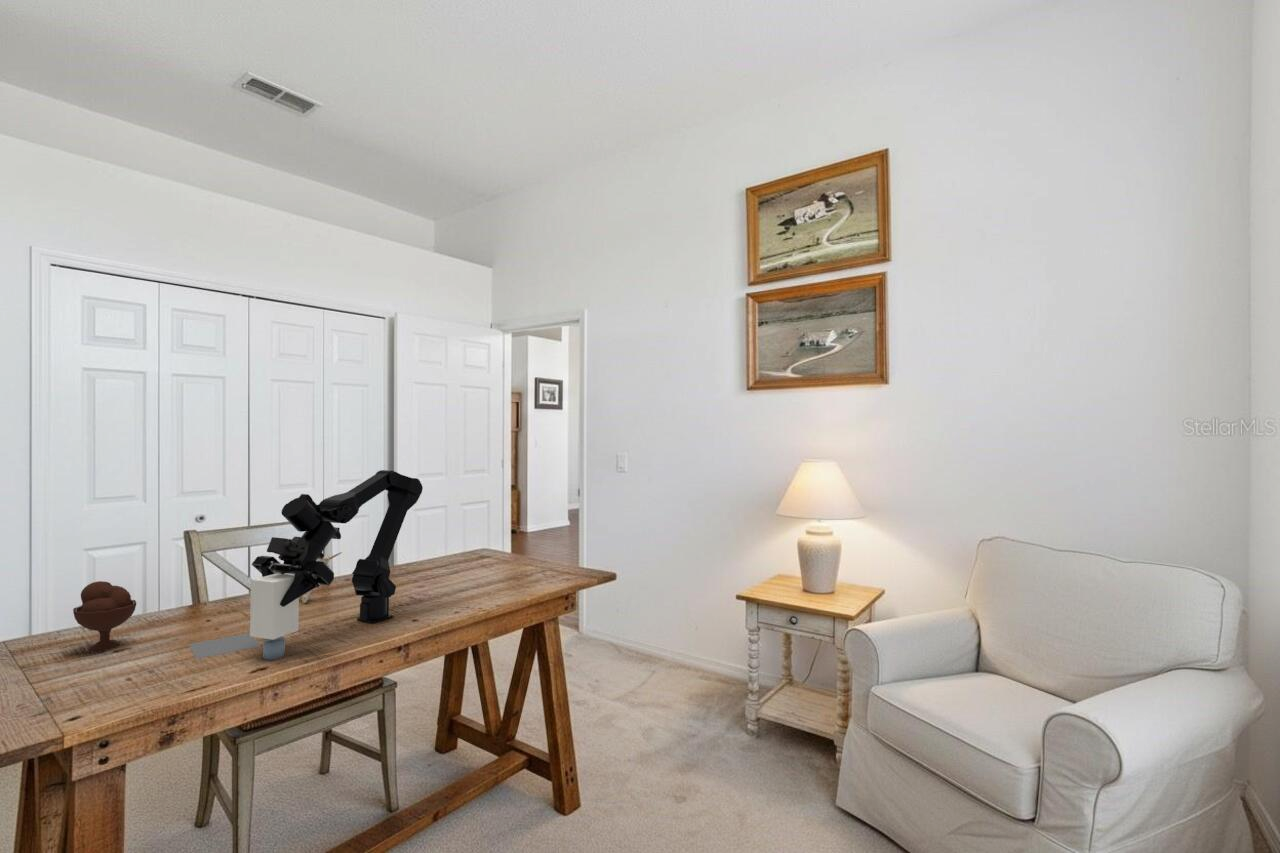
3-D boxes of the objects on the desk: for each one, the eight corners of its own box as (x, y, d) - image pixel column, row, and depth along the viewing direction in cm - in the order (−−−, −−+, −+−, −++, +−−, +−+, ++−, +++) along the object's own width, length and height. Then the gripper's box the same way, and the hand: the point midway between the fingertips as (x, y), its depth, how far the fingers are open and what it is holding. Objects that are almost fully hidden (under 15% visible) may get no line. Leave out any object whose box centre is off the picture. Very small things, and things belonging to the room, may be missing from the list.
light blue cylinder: (276, 653, 137) (277, 635, 137) (288, 656, 136) (288, 638, 136) (258, 659, 134) (259, 640, 134) (270, 662, 132) (271, 643, 132)
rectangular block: (276, 627, 139) (276, 573, 139) (298, 630, 137) (299, 575, 137) (249, 636, 133) (250, 579, 133) (272, 639, 131) (273, 582, 131)
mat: (249, 634, 149) (249, 633, 149) (261, 648, 141) (261, 646, 141) (188, 645, 141) (188, 644, 141) (196, 660, 132) (196, 658, 132)
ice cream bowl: (99, 658, 133) (101, 588, 133) (58, 654, 135) (59, 584, 135) (148, 642, 143) (149, 577, 143) (108, 638, 145) (110, 574, 145)
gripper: (260, 520, 142) (212, 579, 131) (324, 525, 136) (280, 587, 125) (288, 548, 149) (245, 607, 139) (351, 554, 143) (311, 616, 133)
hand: (269, 604), depth 134 cm, fingers closed on rectangular block, 6 cm apart
